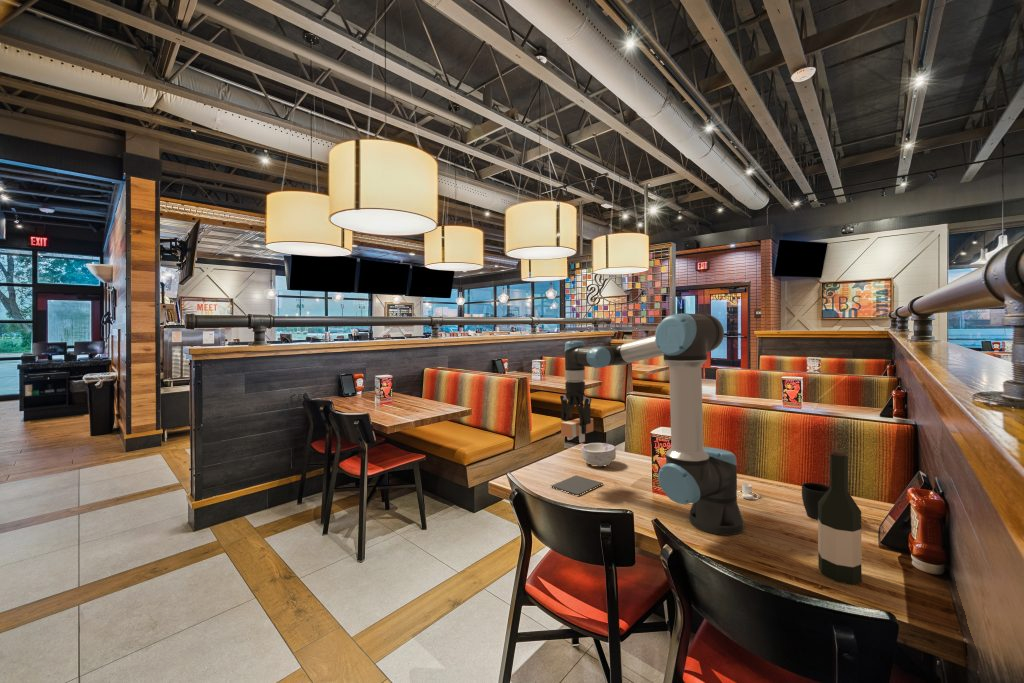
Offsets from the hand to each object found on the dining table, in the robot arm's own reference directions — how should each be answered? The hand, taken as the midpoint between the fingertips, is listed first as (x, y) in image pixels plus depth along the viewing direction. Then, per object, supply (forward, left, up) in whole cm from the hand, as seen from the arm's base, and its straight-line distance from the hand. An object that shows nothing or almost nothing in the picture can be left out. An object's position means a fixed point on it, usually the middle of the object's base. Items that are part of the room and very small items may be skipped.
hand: (576, 440), depth 163 cm
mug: (-74, -29, -18) cm, 81 cm away
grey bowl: (+9, -28, -18) cm, 35 cm away
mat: (0, 0, -18) cm, 18 cm away
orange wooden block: (0, -8, +5) cm, 10 cm away
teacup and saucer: (-48, -32, -19) cm, 61 cm away
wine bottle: (-82, +4, -18) cm, 84 cm away
